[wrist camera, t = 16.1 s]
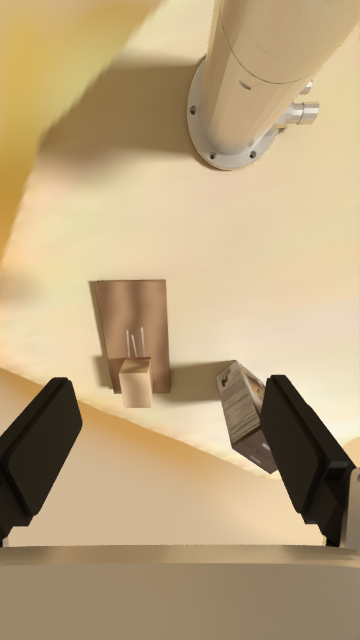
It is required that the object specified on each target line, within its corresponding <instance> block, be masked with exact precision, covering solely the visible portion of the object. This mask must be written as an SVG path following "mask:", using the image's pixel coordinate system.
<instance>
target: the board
mask: <svg viewBox="0 0 360 640" xmlns="http://www.w3.org/2000/svg"><path fill="white" fill-rule="evenodd" d="M95 288H96V294H97V300H98V305H99V311H100V316H101V322H102V328H103V333H104V339H105V345H106V350H107V356H108V361H109V367H110V373H111V378H112V384H113V390H114V394H122V391H121V384H120V378H119V372H120V369H121V367H122V365H123V362H124V360H125V358H126V357H151V363H152V375H153V387H154V390H153V393H170V365H169V341H168V317H167V293H166V280H112V281H96V282H95Z"/></svg>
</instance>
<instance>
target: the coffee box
mask: <svg viewBox="0 0 360 640" xmlns="http://www.w3.org/2000/svg"><path fill="white" fill-rule="evenodd" d="M216 381H217V385H218V390H219V394H220V398H221V403H222V407H223V411H224V416H225V420H226V424H227V429H228V433H229V437H230V442H231V446H232V449H234V450H235V451H237V452H238V453H240V454H241V455H243V456H244V457H246V458H247V459H249V460H250V461H252V462H253V463H254V464H256V465H257V466H259V467H260V468H262V469H263V470H265V471H266V472H268V473H269V474H272V473H273V472H275V471H277V470H278V468H277V465H276V463H275V461H274V458H273V456H272V453H271V451H270V449H269V446H268V444H267V441H266V439H265V437H264V434H263V432H262V429H261V427H260V421H259V420H260V414H261V408H262V403H263V397H264V392H265V386H264V384H263V382H261V381H260V380H259V379H258V378H257V377H256V376H254V375H253V374H252V373H251V372H250V371H249V370H247V369H246V368H245V367H244V366H243V365H242V364H240V363H239V362H238V361H237V360H236V361H235V362H233V363H232V364H231V365H230V366H228V367H227V368H226V369H225V370H224V371H222V372H221V373H220V374H219V375H218V376H216Z"/></svg>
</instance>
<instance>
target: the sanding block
mask: <svg viewBox="0 0 360 640" xmlns="http://www.w3.org/2000/svg"><path fill="white" fill-rule="evenodd" d="M119 378H120V384H121V391H122V397H123V403H124V408H151V402H152V396H153V390H154V387H153V375H152V363H151V357H126V358H125V360H124V362H123V365H122V367H121V369H120V372H119Z"/></svg>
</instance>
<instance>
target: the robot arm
mask: <svg viewBox="0 0 360 640" xmlns="http://www.w3.org/2000/svg"><path fill="white" fill-rule="evenodd" d="M359 22H360V0H215V3H214V9H213V16H212V23H211V30H210V36H209V43H208V50H207V56H206V58H205V59H204V60H203V62H202V63H201V65H200V66H199V68H198V70H197V71H196V73H195V76H194V78H193V81H192V83H191V87H190V91H189V95H188V103H187V123H188V130H189V134H190V137H191V140H192V142H193V145H194V147H195V149H196V150H197V152H198V153H199V155H200V156H201V157H202V158H203V159H204V160H205V161H206V162H207V163H209V164H210V165H212V166H214V167H216V168H219V169H222V170H238V169H241V168H244V167H247V166H249V165H250V164H252V163H254V162H255V161H256V160H257V159H259V158H260V157H261V156H262V155H263V154H264V153H265V152H266V151H267V150H268V148H269V147H270V145H271V144H272V143H273V141H274V140H275V138H276V136H277V133H278V131H279V129H280V128H285V127H287V125H288V124H297V125H298V124H312V123H313V122H314V120H315V119H316V117H317V114H318V110H319V103H318V102H303V103H302V104H293V101H294V100H295V99H296V97H297V96H298V95H306V94H308V92H309V91H310V88H311V85H312V79H313V78H314V76H315V75H316V74H317V73H318V72H319V71H320V69H321V68H322V67H323V66H324V65H325V64H326V62H327V61H328V60H329V59H330V58H331V56H332V55H333V54H334V53H335V52H336V51H337V50H338V48H339V47H340V46H341V45H342V44H343V42H344V41H345V40H346V39H347V38H348V36H349V35H350V34H351V32H352V31H353V30H354V29H355V27H356V26H357V24H358V23H359ZM191 112H194V113H195V114H194V115H192V114H191ZM250 155H252V156H253V158H250ZM210 156H213V157H214V159H211V158H210ZM259 421H260V427H261V429H262V432H263V434H264V437H265V439H266V441H267V444H268V446H269V449H270V451H271V453H272V456H273V458H274V461H275V463H276V465H277V468H278V470H279V473H280V475H281V477H282V480H283V482H284V485H285V487H286V489H287V492H288V494H289V497H290V499H291V501H292V504H293V506H294V508H295V510H296V512H297V513H300V514H301V515H302V518H303V520H304V522H305V524H317V525H318V527H319V529H320V531H321V533H322V535H324V538H323V544H322V546H308V545H307V546H306V545H99V546H98V545H97V546H28V547H27V546H26V547H8V534H9V533H10V531H11V529H12V527H13V526H29V524H30V522H31V520H32V518H33V516H35V515H37V514H38V513H39V511H40V509H41V508H42V505H43V504H44V502H45V500H46V498H47V496H48V494H49V492H50V490H51V488H52V486H53V483H54V482H55V480H56V478H57V476H58V474H59V472H60V470H61V468H62V466H63V464H64V462H65V460H66V458H67V456H68V454H69V452H70V450H71V448H72V446H73V444H74V442H75V440H76V438H77V436H78V434H79V433H80V431H81V428H82V418H81V414H80V410H79V407H78V403H77V399H76V396H75V392H74V388H73V385H72V382H71V381H70V380H68V378H66V377H54V378H52V379H51V380H50V381H49V382H48V383H47V384H46V386H45V387H44V388H43V389H42V390H41V391H40V393H39V394H38V395H37V396H36V397H35V398H34V399H33V400H32V401H31V403H30V404H29V405H28V406H27V407H26V408H25V409H24V410H23V412H22V413H21V414H20V415H19V416H18V417H17V418H16V419H15V421H14V422H13V423H12V424H11V425H10V426H9V428H8V429H7V430H6V431H5V432H4V433H3V434H2V435H1V437H0V640H360V468H357V467H356V466H355V465H354V463H353V462H352V461H351V459H350V458H349V457H348V455H347V454H346V453H345V452H344V450H343V449H342V447H341V446H340V445H339V443H338V442H337V441H336V439H335V438H334V437H333V435H332V434H331V433H330V431H329V430H328V429H327V427H326V426H325V425H324V424H323V422H322V421H321V420H320V418H319V417H318V416H317V414H316V413H315V412H314V410H313V409H312V408H311V407H310V406H309V405H308V404H307V403H306V402H305V401H304V399H303V398H302V397H301V395H300V394H299V393H298V391H297V390H296V389H295V387H294V386H293V385H292V383H291V382H290V381H289V379H288V378H287V377H286V376H285V375H271V377H270V378H268V379H267V381H266V387H265V392H264V397H263V403H262V408H261V414H260V420H259Z"/></svg>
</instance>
